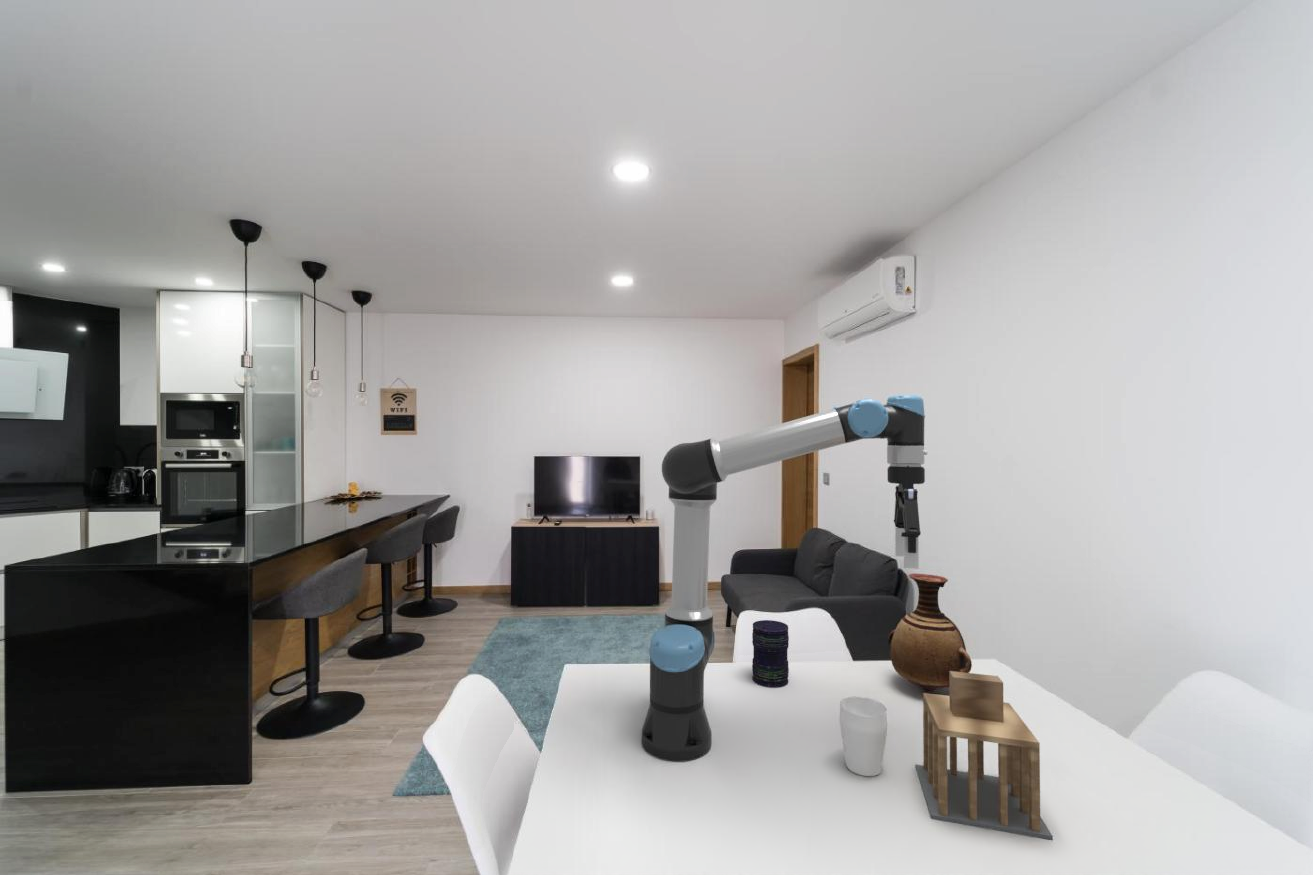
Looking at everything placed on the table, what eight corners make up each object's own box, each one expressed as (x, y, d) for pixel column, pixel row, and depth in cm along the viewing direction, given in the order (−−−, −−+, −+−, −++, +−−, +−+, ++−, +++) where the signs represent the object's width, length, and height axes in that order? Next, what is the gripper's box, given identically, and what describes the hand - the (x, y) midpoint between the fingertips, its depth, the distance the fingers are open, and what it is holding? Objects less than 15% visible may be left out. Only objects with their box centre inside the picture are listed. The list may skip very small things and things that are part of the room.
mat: (930, 818, 95) (930, 814, 95) (915, 767, 110) (915, 764, 110) (1052, 839, 90) (1052, 836, 90) (1018, 783, 105) (1018, 780, 105)
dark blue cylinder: (767, 670, 159) (767, 617, 159) (796, 681, 151) (796, 626, 151) (744, 679, 152) (744, 624, 153) (773, 691, 145) (773, 633, 145)
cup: (892, 783, 105) (892, 719, 105) (842, 777, 107) (842, 714, 107) (882, 757, 114) (882, 698, 114) (836, 752, 115) (836, 694, 116)
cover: (939, 814, 95) (938, 688, 95) (923, 766, 109) (922, 657, 110) (1040, 832, 91) (1039, 699, 91) (1009, 779, 105) (1008, 666, 106)
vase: (872, 678, 153) (872, 570, 154) (925, 671, 159) (924, 566, 159) (932, 713, 133) (931, 588, 133) (990, 703, 138) (989, 583, 139)
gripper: (935, 467, 109) (936, 575, 109) (915, 464, 133) (915, 552, 132) (894, 466, 111) (895, 572, 111) (881, 464, 135) (881, 551, 135)
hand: (906, 562), depth 122 cm, fingers open, 13 cm apart
